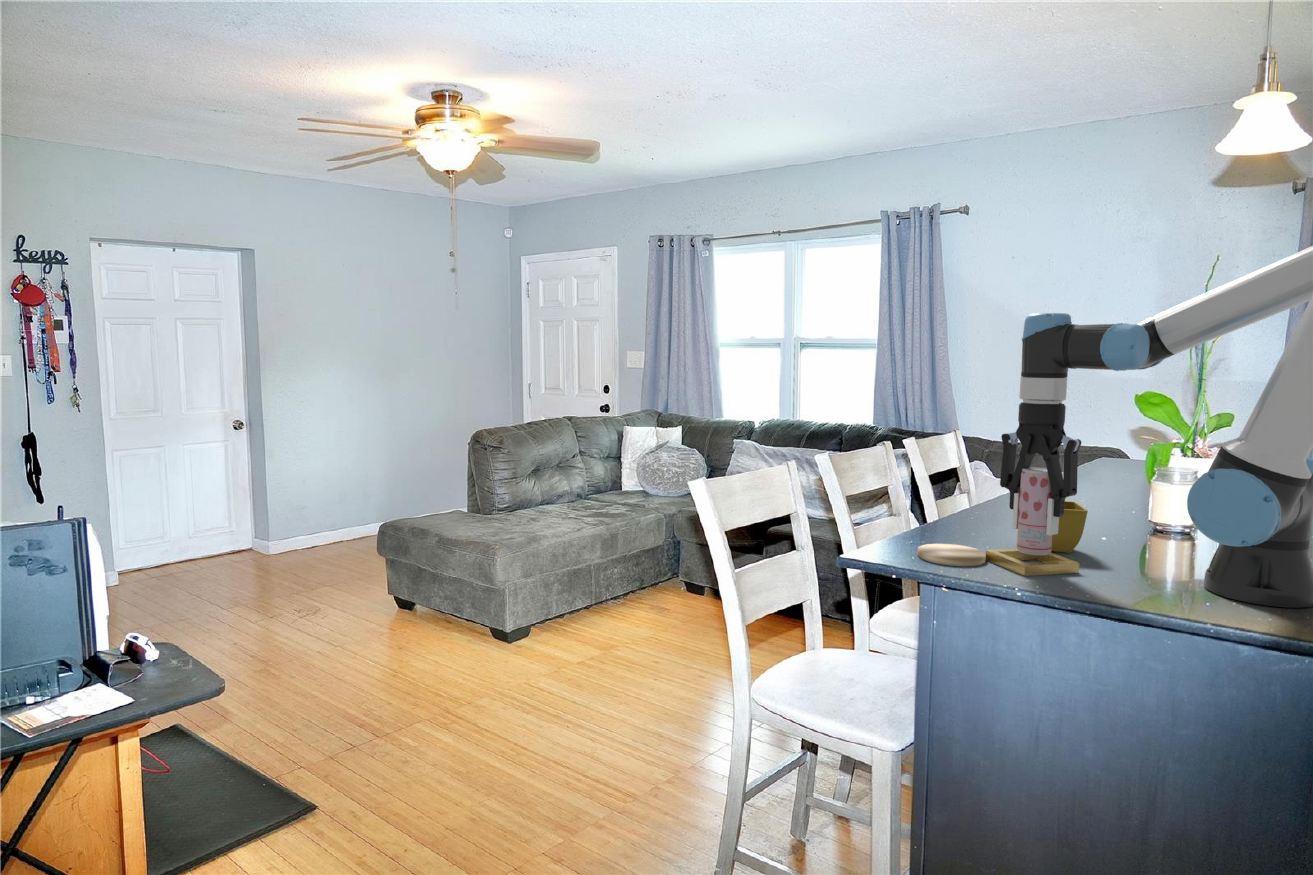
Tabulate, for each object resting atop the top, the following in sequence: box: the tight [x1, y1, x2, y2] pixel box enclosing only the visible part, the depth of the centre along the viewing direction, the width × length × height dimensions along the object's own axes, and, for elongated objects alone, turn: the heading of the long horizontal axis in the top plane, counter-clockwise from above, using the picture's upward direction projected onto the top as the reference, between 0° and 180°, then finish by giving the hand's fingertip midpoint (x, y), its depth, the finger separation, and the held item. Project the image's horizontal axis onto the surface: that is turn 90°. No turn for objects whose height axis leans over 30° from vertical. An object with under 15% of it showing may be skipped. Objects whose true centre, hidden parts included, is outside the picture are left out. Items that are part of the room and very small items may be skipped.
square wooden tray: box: [985, 548, 1080, 577], centre depth 153 cm, size 11×11×2 cm
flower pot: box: [1051, 500, 1088, 553], centre depth 166 cm, size 9×9×9 cm
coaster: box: [917, 543, 987, 567], centre depth 159 cm, size 12×12×1 cm
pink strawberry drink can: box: [1016, 466, 1053, 555], centre depth 152 cm, size 6×6×15 cm
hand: (1034, 530), depth 153 cm, fingers closed on pink strawberry drink can, 6 cm apart
